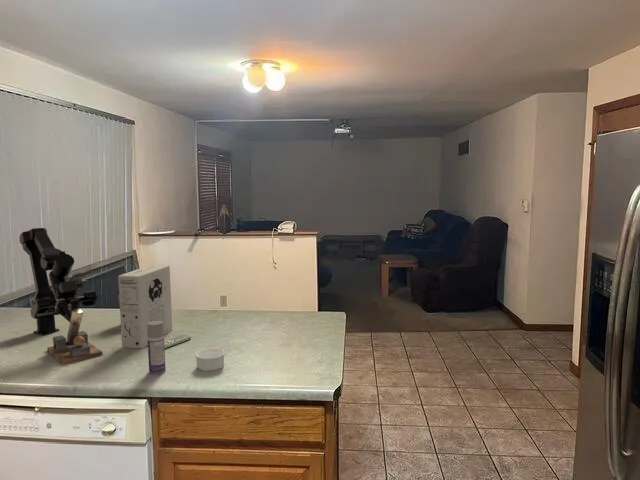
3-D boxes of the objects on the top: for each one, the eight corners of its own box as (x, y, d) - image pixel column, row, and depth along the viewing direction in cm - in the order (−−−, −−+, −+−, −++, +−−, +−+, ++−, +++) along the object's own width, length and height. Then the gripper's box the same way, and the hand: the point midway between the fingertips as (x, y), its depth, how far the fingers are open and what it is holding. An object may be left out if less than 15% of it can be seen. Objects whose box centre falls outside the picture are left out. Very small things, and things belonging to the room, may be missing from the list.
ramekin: (226, 370, 155) (226, 356, 154) (196, 373, 153) (195, 359, 152) (223, 360, 163) (223, 346, 163) (194, 363, 161) (194, 349, 160)
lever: (63, 341, 173) (70, 310, 164) (74, 339, 175) (81, 308, 166) (66, 349, 171) (73, 317, 162) (77, 346, 174) (85, 315, 165)
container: (151, 368, 156) (148, 320, 154) (167, 368, 156) (164, 320, 155) (147, 374, 151) (145, 325, 150) (163, 374, 152) (161, 324, 150)
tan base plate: (47, 350, 173) (46, 330, 172) (84, 342, 181) (83, 323, 180) (63, 364, 160) (61, 342, 159) (102, 355, 168) (101, 334, 167)
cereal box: (154, 329, 197) (151, 264, 193) (172, 330, 195) (169, 265, 192) (121, 347, 176) (117, 275, 172) (141, 349, 174) (138, 276, 171)
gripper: (34, 274, 164) (46, 316, 157) (94, 267, 176) (108, 305, 170) (29, 293, 171) (40, 334, 164) (88, 285, 183) (100, 323, 177)
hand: (73, 323), depth 169 cm, fingers closed
